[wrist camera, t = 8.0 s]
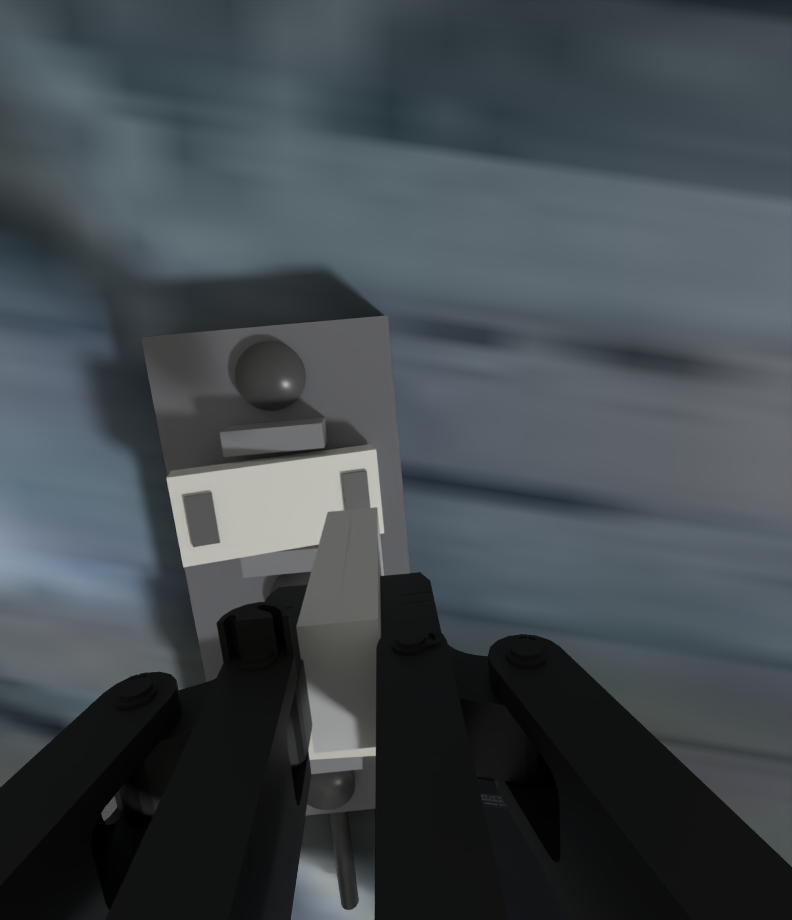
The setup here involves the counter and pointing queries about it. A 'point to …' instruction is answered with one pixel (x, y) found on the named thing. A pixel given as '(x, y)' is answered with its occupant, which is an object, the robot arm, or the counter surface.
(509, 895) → the small box
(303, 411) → the power strip
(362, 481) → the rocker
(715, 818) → the robot arm
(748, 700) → the counter surface
